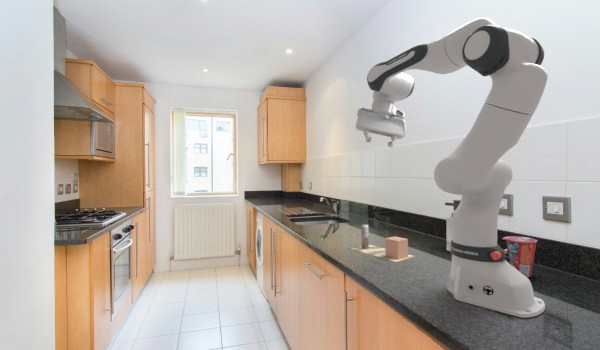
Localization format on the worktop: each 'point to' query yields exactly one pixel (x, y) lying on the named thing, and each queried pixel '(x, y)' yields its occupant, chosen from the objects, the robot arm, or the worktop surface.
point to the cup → (521, 253)
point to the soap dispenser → (450, 224)
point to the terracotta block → (396, 247)
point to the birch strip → (374, 247)
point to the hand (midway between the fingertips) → (379, 144)
